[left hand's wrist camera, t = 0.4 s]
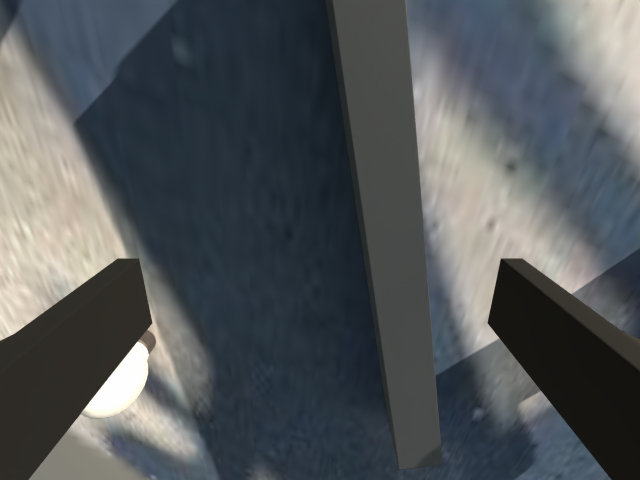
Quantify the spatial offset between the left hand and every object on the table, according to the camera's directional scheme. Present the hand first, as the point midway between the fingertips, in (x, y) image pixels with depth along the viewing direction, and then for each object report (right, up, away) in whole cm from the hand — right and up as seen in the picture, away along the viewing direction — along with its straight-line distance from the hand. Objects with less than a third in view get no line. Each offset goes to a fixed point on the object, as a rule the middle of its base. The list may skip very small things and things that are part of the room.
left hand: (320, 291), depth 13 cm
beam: (+7, +5, +26) cm, 27 cm away
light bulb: (-23, -11, +32) cm, 41 cm away
